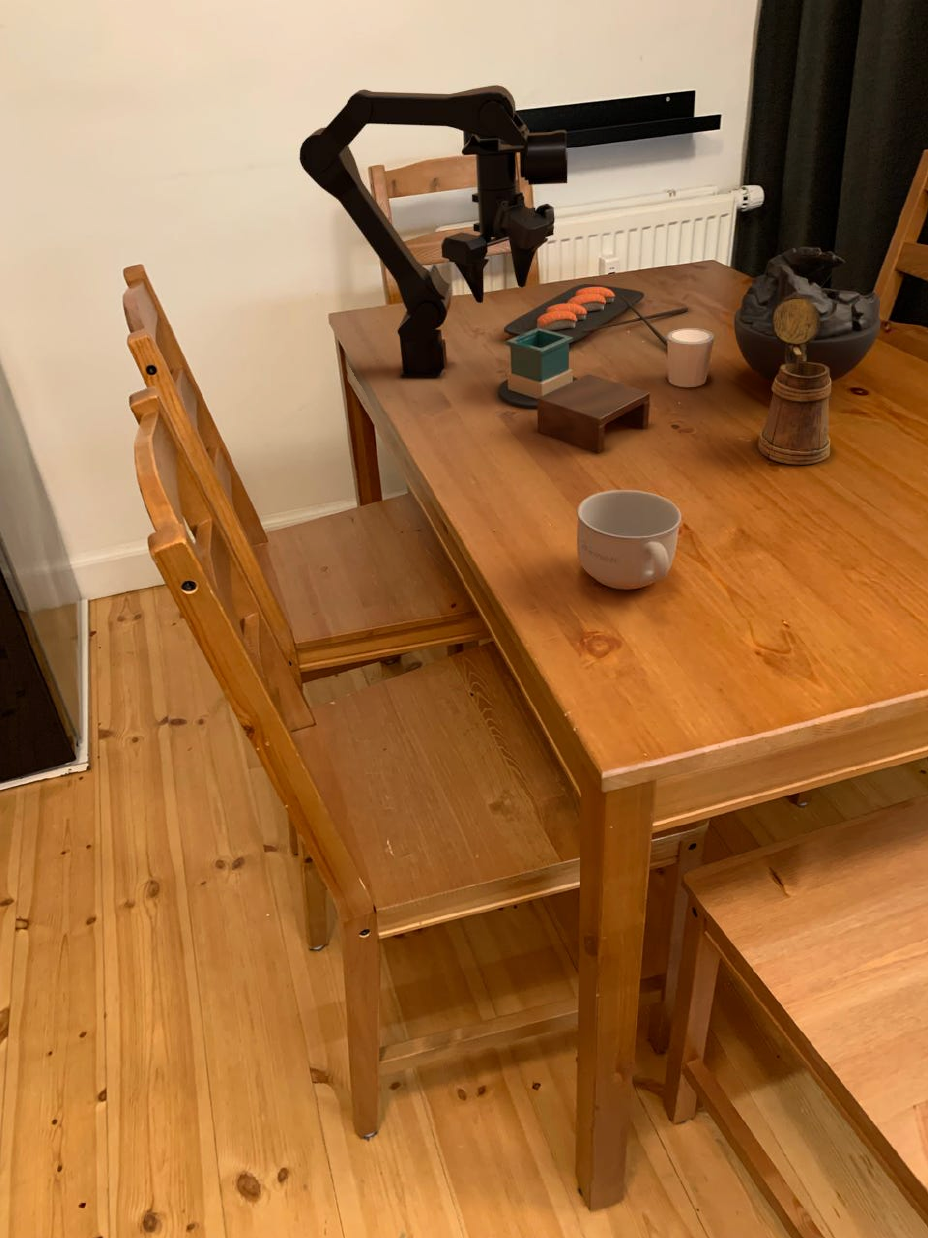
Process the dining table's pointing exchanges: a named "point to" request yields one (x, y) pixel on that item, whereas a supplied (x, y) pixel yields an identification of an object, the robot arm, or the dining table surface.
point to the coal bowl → (842, 313)
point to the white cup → (689, 356)
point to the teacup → (627, 537)
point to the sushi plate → (584, 312)
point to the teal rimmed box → (539, 362)
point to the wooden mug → (797, 390)
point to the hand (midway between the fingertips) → (500, 294)
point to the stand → (590, 410)
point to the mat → (517, 397)
